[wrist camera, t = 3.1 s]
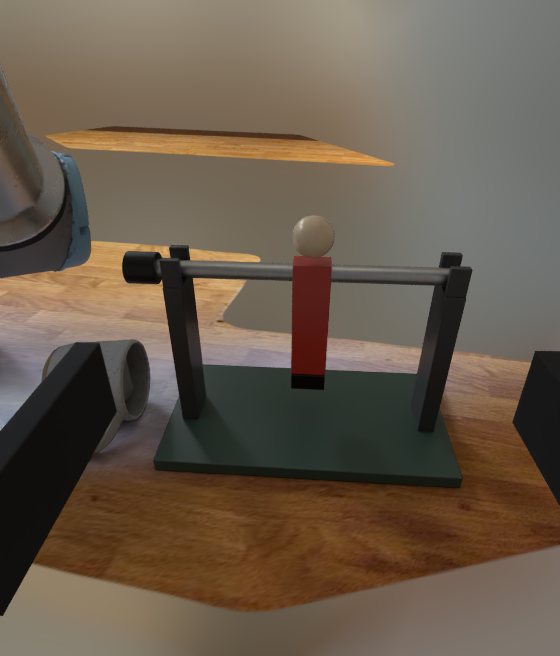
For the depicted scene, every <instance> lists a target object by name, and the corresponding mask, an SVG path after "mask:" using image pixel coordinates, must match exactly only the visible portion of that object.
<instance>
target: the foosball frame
mask: <svg viewBox="0 0 560 656" xmlns="http://www.w3.org/2000/svg"><path fill="white" fill-rule="evenodd" d="M169 250H170V257H171V258H161V259H160V260H159V263H160V269H161V276H162V282H163V294H164V300H165V306H166V313H167V319H168V326H169V332H170V339H171V345H172V352H173V358H174V365H175V371H176V378H177V384H178V390H179V398H178V400H177V403H176V405H175V408H174V410H173V413H172V415H171V418H170V420H169V423H168V425H167V428H166V430H165V432H164V435H163V437H162V440H161V442H160V445H159V447H158V450H157V452H156V455H155V457H154V460H153V462H154V467H155V469H156V470H170V471H187V472H203V473H220V474H237V475H254V476H270V477H287V478H304V479H320V480H337V481H354V482H370V483H387V484H404V485H421V486H437V487H454V488H460V485H461V482H462V475H461V472H460V469H459V466H458V463H457V460H456V457H455V454H454V451H453V448H452V445H451V442H450V439H449V436H448V433H447V430H446V427H445V424H444V421H443V418H442V415H441V412H440V409H439V408H440V404H441V400H442V396H443V392H444V388H445V384H446V380H447V375H448V371H449V367H450V363H451V359H452V355H453V351H454V346H455V343H456V338H457V334H458V330H459V326H460V322H461V318H462V314H463V310H464V306H465V302H466V294H467V290H468V286H469V282H470V278H471V274H472V269H471V267H460V265H461V261H462V254H461V253H451V252H442V255H441V260H440V265H439V268H450V270H449V274H448V279H447V284H446V286H435V287H434V292H433V298H432V302H431V307H430V312H429V317H428V322H427V327H426V333H425V338H424V343H423V347H422V352H421V357H420V362H419V367H418V372H417V374H408V373H385V372H362V371H340V370H325V384H324V390H311V389H292V388H291V368H272V367H249V366H226V365H204V364H203V363H202V355H201V346H200V337H199V328H198V320H197V311H196V302H195V293H194V285H193V278H182V271H181V263H180V260H190V255H189V246H188V245H171V246H170V247H169Z"/></svg>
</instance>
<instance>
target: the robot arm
mask: <svg viewBox="0 0 560 656" xmlns="http://www.w3.org/2000/svg"><path fill="white" fill-rule="evenodd" d="M88 225H89V221H88V211H87V205H86V200H85V194H84V189H83V185H82V181H81V176H80V173H79V170H78V166H77V164H76V162H75V160H74V159H73V158H72V157H71V156H70V155H68V154H62V153H57V152H51V151H50V150H49V148H48V147H47V146H46V145H45V144H44V143H42V142H41V141H40V140H39V139H37V138H36V137H35V136H33V135H32V134H30V133H28V132H27V130H26V127H25V125H24V122H23V120H22V117H21V115H20V112H19V110H18V107H17V105H16V102H15V100H14V97H13V95H12V92H11V90H10V87H9V85H8V82H7V80H6V77H5V75H4V72H3V70H2V67H1V65H0V278H5V277H12V276H19V275H25V274H32V273H39V272H46V271H55V272H56V271H62V270H64V269H65V268H70V267H75V266H79V265H82V264H84V263H85V262H86V261H87V260H88V259H89V257H90V254H91V236H90V230H89V227H88ZM116 412H117V409H116V405H115V402H114V398H113V394H112V390H111V386H110V382H109V378H108V374H107V370H106V366H105V362H104V358H103V354H102V350H101V346H100V343H83V342H76V343H75V344H74V345H73V346H72V347H71V348H70V350H69V351H68V352H67V353H66V354H65V356H64V357H63V358H62V359H61V360H60V361H59V363H58V364H57V365H56V366H55V367H54V369H53V370H52V371H51V372H50V373H49V374H48V376H47V377H46V378H45V379H44V380H43V382H42V383H41V384H40V385H39V386H38V387H37V389H36V390H35V391H34V392H33V393H32V394H31V396H30V397H29V398H28V399H27V400H26V402H25V403H24V404H23V405H22V406H21V407H20V409H19V410H18V411H17V412H16V413H15V415H14V416H13V417H12V418H11V419H10V420H9V422H8V423H7V424H6V425H5V426H4V428H3V429H2V430H1V431H0V616H3V614H4V612H5V611H6V609H7V607H8V605H9V604H10V602H11V600H12V598H13V597H14V595H15V593H16V591H17V589H18V588H19V586H20V584H21V582H22V580H23V579H24V577H25V575H26V573H27V572H28V570H29V568H30V566H31V564H32V563H33V561H34V559H35V557H36V555H37V554H38V552H39V550H40V548H41V546H42V545H43V543H44V541H45V539H46V538H47V536H48V534H49V532H50V530H51V529H52V527H53V525H54V523H55V521H56V520H57V518H58V516H59V514H60V513H61V511H62V509H63V507H64V505H65V504H66V502H67V500H68V498H69V496H70V495H71V493H72V491H73V489H74V487H75V486H76V484H77V482H78V480H79V479H80V477H81V475H82V473H83V471H84V470H85V468H86V466H87V464H88V462H89V461H90V459H91V457H92V455H93V453H94V452H95V450H96V448H97V446H98V445H99V443H100V441H101V439H102V437H103V436H104V434H105V432H106V430H107V428H108V427H109V425H110V423H111V421H112V419H113V418H114V416H115V414H116ZM513 424H514V426H515V428H516V429H517V431H518V433H519V435H520V436H521V438H522V440H523V442H524V444H525V445H526V447H527V449H528V451H529V452H530V454H531V456H532V458H533V459H534V461H535V463H536V465H537V466H538V468H539V470H540V472H541V474H542V475H543V477H544V479H545V481H546V482H547V484H548V486H549V488H550V489H551V491H552V493H553V495H554V496H555V498H556V500H557V502H558V504H559V505H560V351H535V353H534V356H533V360H532V363H531V366H530V369H529V372H528V375H527V378H526V382H525V385H524V388H523V391H522V394H521V397H520V400H519V403H518V407H517V410H516V413H515V416H514V419H513Z"/></svg>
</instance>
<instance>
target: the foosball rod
mask: <svg viewBox="0 0 560 656" xmlns="http://www.w3.org/2000/svg"><path fill="white" fill-rule="evenodd" d="M292 237H293V243H294V246H295V248H296V249H297V251H298V252H299V253H300V254H302V255H303V256H294V261H293V263H261V262H227V261H192V260H180V263H181V271H182V278H212V279H243V280H276V281H277V280H278V281H293V285H292V286H293V287H292V355H291V388H292V389H311V390H324V384H325V367H326V351H327V334H328V320H329V303H330V288H331V282H339V283H372V284H403V285H433V286H446V284H447V279H448V274H449V270H450V268H433V267H431V268H430V267H396V266H362V265H332V261H331V257H321V256H323V255H325V254H326V253H327V252H328V251H329V250H330V249H331V247H332V245H333V243H334V230H333V227H332V225H331V224H330V223H329V222H328V221H327V220H326V219H325V218H323V217H320V216H316V215H311V216H307V217H304V218H303V219H301V220H300V221H299V222H298V223H297V224H296V226H295V228H294V230H293V236H292ZM161 258H162V257H161V254H160V253H159V252H139V251H128V252H126V253H125V255H124V257H123V263H122V271H123V276H124V279H125V281H126V282H127V283H137V284H159V283H160V282H161V280H162V276H161V269H160V263H159V260H160V259H161Z"/></svg>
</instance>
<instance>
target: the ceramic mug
mask: <svg viewBox="0 0 560 656" xmlns="http://www.w3.org/2000/svg"><path fill="white" fill-rule="evenodd" d="M84 343H100V346H101V350H102V354H103V358H104V362H105V366H106V370H107V374H108V378H109V382H110V386H111V390H112V394H113V398H114V402H115V405H116V409H117V412H116V414H115V416H114V418H113V419H112V421H111V423H110V425H109V427H108V428H107V430H106V432H105V434H104V436H103V437H102V439H101V441H100V443H99V445H98V446H97V448H96V450H95V452H94V453H93V454H95V453H97V452H99V451H101V450H102V449H104V448H105V447H106V446H107V445H108V444H109V443H110V442H111V441H112V440H113V438H114V436H115V435H116V433H117V431H118V429H119V427H120V424H121V422H122V421H123V420H125V421H130V420H136V419H138V418H139V417H140V416H141V415H142V413H143V411H144V409H145V406H146V404H147V401H148V396H149V389H150V368H149V362H148V357H147V354H146V351H145V349H144V346H143V345H142V344H141V343H140V342H139V341H138V340H132V339H131V340H119V341H102V342H84ZM74 344H75V343H73V344H69V345H65V346H61V347H59V348H57V349H56V350H54V351H53V352H52V353H51V355H50V356H49V358H48V359H47V361H46V363H45V366H44V370H43V374H42V382H43V380H44V379H45V378H46V377H47V376H48V374H49V373H50V372H51V371H52V370H53V369H54V367H55V366H56V365H57V364H58V363H59V361H60V360H61V359H62V358H63V357H64V356H65V354H66V353H67V352H68V351H69V350H70V348H71V347H72V346H73V345H74Z"/></svg>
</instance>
